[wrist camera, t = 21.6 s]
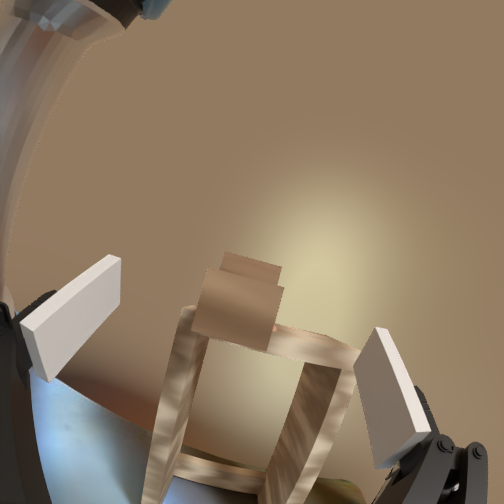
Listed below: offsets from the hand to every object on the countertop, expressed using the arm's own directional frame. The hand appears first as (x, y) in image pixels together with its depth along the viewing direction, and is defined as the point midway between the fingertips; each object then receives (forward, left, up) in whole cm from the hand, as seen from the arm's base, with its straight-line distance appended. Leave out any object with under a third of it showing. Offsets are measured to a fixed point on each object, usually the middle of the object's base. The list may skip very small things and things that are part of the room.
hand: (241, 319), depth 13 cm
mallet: (0, +11, -1) cm, 11 cm away
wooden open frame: (+4, +19, -31) cm, 37 cm away
